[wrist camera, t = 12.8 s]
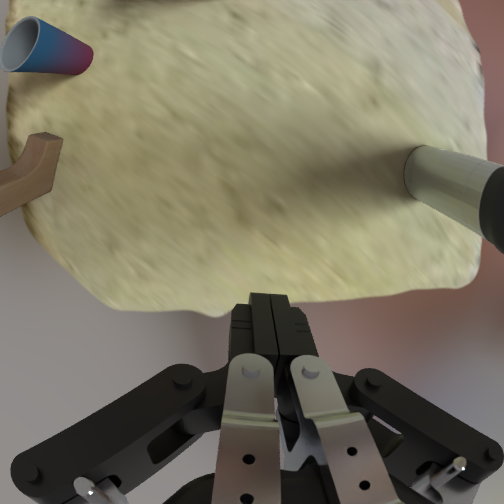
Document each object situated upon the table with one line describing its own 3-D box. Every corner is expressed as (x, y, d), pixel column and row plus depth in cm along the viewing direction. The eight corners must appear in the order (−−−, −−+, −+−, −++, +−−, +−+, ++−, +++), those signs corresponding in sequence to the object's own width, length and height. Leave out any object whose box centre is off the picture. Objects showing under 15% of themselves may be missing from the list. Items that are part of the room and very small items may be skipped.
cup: (75, 89, 30) (10, 83, 17) (55, 65, 28) (-8, 54, 14) (106, 55, 29) (48, 31, 15) (85, 32, 26) (27, 7, 13)
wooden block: (45, 131, 32) (-37, 148, 16) (64, 138, 33) (-19, 157, 17) (33, 183, 36) (-42, 219, 19) (52, 191, 37) (-24, 232, 20)
